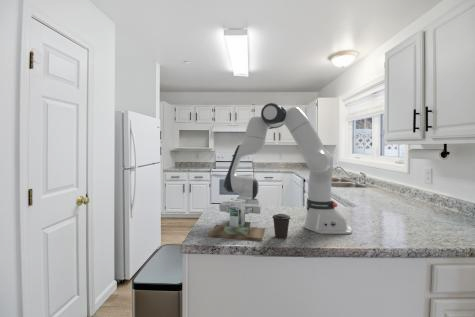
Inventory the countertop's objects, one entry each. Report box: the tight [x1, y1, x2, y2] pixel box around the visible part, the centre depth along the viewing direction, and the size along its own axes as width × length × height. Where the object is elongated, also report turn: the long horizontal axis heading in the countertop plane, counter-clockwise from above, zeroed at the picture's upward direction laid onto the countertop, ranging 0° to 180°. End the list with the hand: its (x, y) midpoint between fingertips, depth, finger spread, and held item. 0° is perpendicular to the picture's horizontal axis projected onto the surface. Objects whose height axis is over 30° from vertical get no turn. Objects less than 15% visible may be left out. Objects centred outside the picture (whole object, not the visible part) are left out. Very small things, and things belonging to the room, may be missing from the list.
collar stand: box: [208, 220, 266, 242], centre depth 125 cm, size 24×14×4 cm, turn 79°
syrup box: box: [229, 198, 246, 228], centre depth 125 cm, size 6×6×14 cm
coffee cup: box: [272, 213, 291, 240], centre depth 121 cm, size 8×8×10 cm
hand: (237, 211), depth 124 cm, fingers open, 8 cm apart
